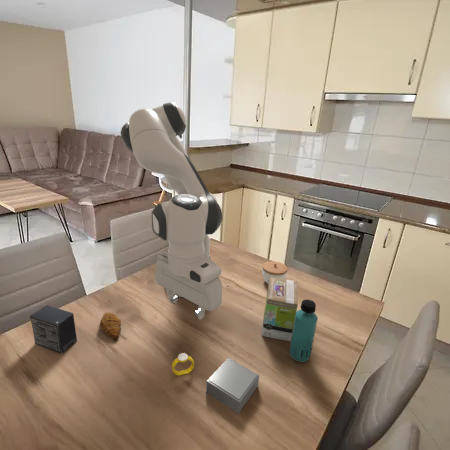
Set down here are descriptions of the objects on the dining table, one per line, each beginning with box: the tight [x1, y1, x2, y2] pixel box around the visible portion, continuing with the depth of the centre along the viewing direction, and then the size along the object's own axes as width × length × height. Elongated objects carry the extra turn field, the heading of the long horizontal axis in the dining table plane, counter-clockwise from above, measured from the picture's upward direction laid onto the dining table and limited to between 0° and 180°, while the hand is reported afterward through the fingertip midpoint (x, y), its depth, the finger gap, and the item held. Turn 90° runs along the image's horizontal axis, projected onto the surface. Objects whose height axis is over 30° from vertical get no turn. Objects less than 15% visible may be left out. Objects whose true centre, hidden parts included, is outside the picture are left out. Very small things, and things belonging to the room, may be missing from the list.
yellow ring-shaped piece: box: [171, 352, 195, 377], centre depth 84 cm, size 6×3×6 cm, turn 109°
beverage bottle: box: [289, 299, 318, 363], centre depth 90 cm, size 6×7×20 cm
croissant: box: [99, 312, 122, 341], centre depth 100 cm, size 14×7×5 cm, turn 33°
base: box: [205, 357, 260, 415], centre depth 80 cm, size 10×10×4 cm
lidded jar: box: [261, 260, 288, 286], centre depth 132 cm, size 11×11×9 cm
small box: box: [29, 304, 78, 355], centre depth 91 cm, size 11×6×10 cm, turn 71°
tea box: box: [261, 277, 299, 342], centre depth 105 cm, size 15×10×15 cm, turn 168°
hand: (186, 309), depth 79 cm, fingers open, 8 cm apart
